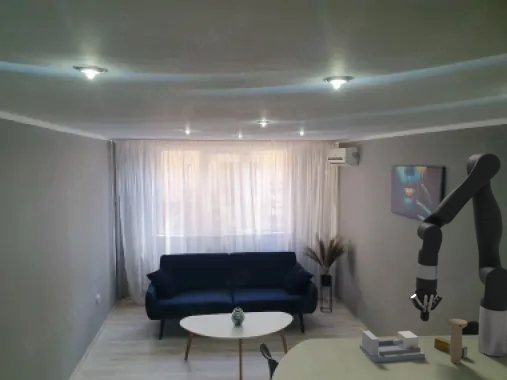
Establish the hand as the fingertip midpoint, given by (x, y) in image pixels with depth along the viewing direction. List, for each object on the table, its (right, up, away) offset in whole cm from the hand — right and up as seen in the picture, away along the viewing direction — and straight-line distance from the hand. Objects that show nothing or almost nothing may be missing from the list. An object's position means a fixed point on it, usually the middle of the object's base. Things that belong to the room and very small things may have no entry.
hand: (424, 320), depth 166 cm
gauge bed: (-13, -12, -2) cm, 17 cm away
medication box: (+9, -12, -1) cm, 15 cm away
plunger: (-8, -10, -2) cm, 13 cm away
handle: (+8, -12, -9) cm, 17 cm away
